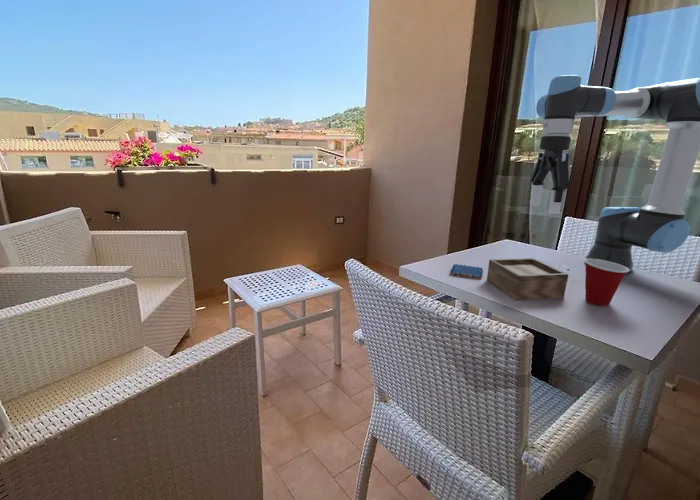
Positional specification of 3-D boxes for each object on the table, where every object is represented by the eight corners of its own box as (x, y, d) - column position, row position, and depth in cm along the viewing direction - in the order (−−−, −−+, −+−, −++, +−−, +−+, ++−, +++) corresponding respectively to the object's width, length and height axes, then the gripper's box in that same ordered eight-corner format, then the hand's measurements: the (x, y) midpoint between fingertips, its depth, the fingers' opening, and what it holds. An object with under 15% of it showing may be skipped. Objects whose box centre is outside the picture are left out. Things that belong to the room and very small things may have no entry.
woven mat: (481, 281, 122) (482, 275, 121) (449, 276, 126) (450, 271, 125) (483, 272, 131) (483, 266, 131) (453, 268, 135) (453, 262, 134)
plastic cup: (628, 312, 100) (639, 271, 97) (585, 308, 102) (594, 267, 99) (609, 297, 110) (618, 259, 107) (570, 293, 112) (578, 256, 109)
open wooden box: (529, 279, 124) (533, 258, 122) (563, 298, 109) (568, 274, 107) (486, 280, 121) (489, 259, 119) (515, 300, 106) (518, 276, 104)
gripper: (526, 136, 116) (516, 203, 121) (563, 133, 92) (548, 216, 98) (550, 137, 115) (539, 203, 121) (594, 134, 91) (577, 217, 97)
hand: (543, 209), depth 109 cm, fingers open, 13 cm apart
